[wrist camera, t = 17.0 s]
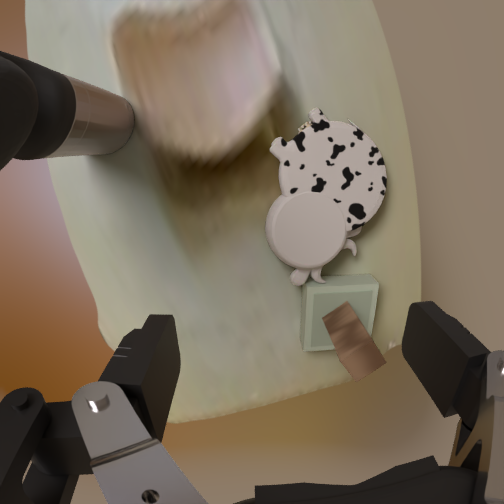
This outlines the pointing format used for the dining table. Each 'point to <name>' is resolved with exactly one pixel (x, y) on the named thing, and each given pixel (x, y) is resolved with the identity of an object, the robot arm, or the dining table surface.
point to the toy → (323, 193)
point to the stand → (335, 306)
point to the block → (352, 342)
